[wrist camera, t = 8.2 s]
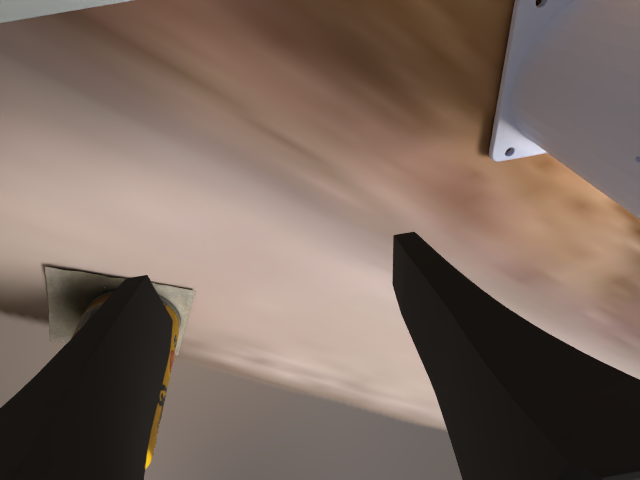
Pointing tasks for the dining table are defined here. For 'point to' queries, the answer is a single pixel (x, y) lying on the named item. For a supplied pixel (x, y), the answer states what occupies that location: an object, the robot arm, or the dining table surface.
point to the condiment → (86, 298)
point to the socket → (45, 7)
